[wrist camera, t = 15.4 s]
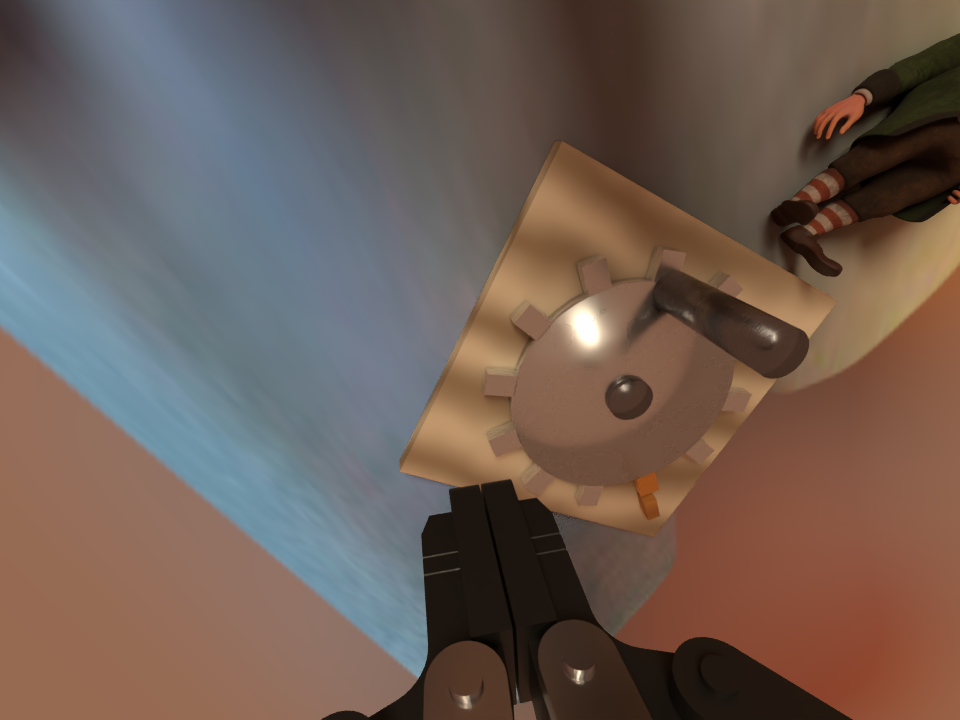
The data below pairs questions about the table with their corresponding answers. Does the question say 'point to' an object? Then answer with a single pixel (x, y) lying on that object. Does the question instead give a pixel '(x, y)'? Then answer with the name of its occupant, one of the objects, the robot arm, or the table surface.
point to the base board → (555, 280)
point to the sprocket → (632, 374)
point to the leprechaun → (886, 154)
